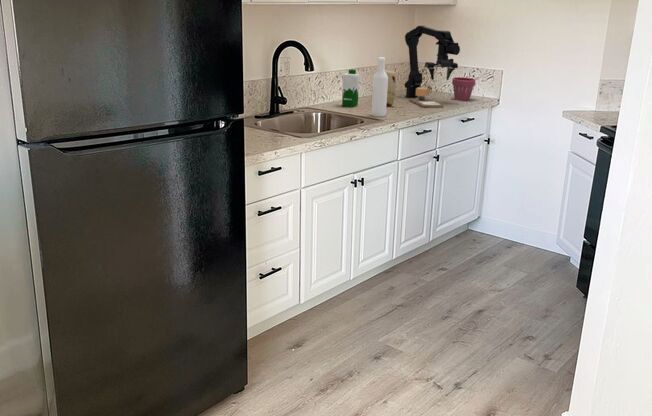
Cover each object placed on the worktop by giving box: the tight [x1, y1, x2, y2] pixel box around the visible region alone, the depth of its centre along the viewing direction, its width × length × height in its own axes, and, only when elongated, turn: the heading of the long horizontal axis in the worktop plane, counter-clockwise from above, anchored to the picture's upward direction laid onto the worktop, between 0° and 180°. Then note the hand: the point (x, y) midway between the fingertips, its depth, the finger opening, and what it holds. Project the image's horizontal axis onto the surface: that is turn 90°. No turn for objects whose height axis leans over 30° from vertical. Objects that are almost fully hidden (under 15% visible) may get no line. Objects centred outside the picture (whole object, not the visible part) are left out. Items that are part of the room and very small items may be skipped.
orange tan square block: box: [416, 87, 430, 97], centre depth 373 cm, size 6×6×4 cm
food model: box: [384, 70, 397, 107], centre depth 359 cm, size 10×7×20 cm
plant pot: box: [451, 76, 477, 101], centre depth 388 cm, size 14×14×13 cm
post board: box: [408, 96, 444, 109], centre depth 368 cm, size 24×12×8 cm, turn 14°
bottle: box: [370, 56, 388, 118], centre depth 328 cm, size 8×8×30 cm
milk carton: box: [341, 69, 360, 108], centre depth 354 cm, size 9×9×20 cm
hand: (439, 79), depth 373 cm, fingers open, 9 cm apart
